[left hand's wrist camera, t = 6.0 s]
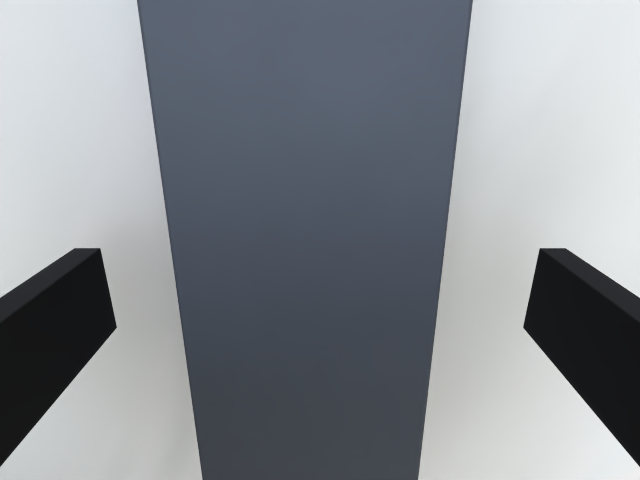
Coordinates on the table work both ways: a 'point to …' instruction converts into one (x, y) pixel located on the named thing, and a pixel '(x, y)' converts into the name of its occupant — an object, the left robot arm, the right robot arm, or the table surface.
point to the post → (307, 222)
